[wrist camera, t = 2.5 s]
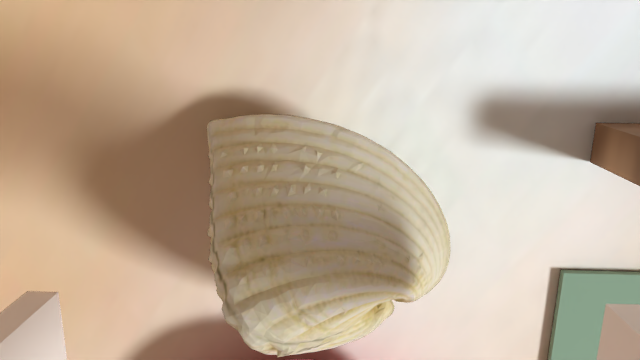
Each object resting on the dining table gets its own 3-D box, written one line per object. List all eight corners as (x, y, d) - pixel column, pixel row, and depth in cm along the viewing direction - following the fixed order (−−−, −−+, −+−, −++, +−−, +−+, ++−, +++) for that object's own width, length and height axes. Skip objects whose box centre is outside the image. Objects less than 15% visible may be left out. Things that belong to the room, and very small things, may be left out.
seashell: (347, 401, 20) (151, 391, 16) (315, 222, 25) (162, 176, 21) (517, 319, 15) (309, 271, 11) (437, 120, 21) (272, 33, 16)
